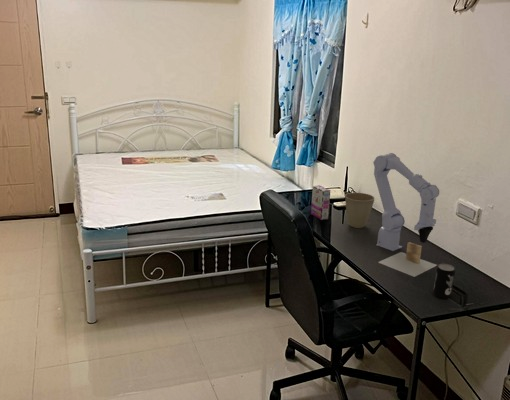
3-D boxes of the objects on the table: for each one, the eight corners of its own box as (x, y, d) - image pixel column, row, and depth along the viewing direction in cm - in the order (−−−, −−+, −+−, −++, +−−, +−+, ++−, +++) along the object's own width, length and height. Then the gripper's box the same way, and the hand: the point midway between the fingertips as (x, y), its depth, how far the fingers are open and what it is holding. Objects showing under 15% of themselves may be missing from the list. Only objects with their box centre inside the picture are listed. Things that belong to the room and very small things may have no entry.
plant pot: (374, 231, 254) (377, 201, 249) (345, 230, 254) (347, 200, 250) (368, 221, 268) (371, 192, 264) (340, 220, 269) (343, 191, 264)
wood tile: (405, 259, 220) (407, 242, 218) (407, 258, 221) (409, 241, 219) (417, 264, 216) (419, 246, 214) (419, 263, 217) (422, 246, 215)
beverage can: (439, 300, 186) (444, 271, 183) (429, 292, 192) (433, 264, 189) (454, 298, 188) (459, 269, 184) (444, 290, 194) (448, 262, 190)
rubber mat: (377, 263, 217) (377, 262, 217) (401, 252, 228) (401, 251, 228) (414, 277, 204) (414, 276, 204) (437, 266, 215) (437, 265, 215)
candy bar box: (328, 219, 270) (331, 190, 265) (321, 220, 268) (323, 191, 263) (318, 212, 279) (319, 184, 274) (310, 214, 277) (312, 185, 272)
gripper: (426, 218, 209) (422, 248, 213) (444, 211, 218) (439, 240, 222) (411, 214, 214) (407, 243, 218) (429, 207, 223) (425, 236, 227)
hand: (423, 241), depth 221 cm, fingers closed
